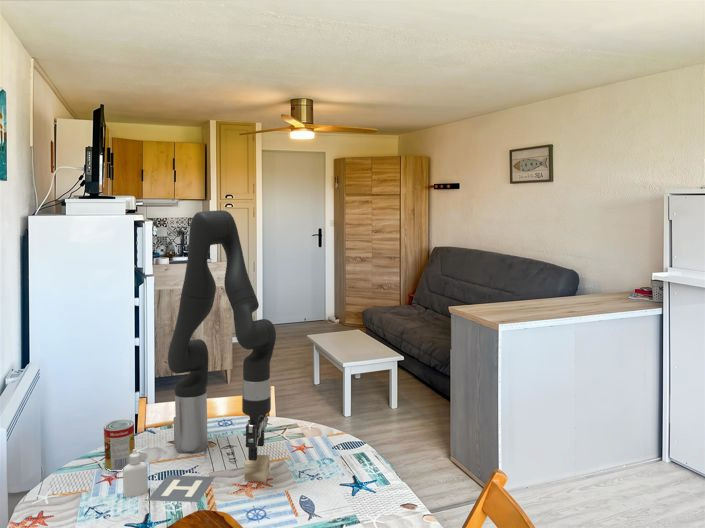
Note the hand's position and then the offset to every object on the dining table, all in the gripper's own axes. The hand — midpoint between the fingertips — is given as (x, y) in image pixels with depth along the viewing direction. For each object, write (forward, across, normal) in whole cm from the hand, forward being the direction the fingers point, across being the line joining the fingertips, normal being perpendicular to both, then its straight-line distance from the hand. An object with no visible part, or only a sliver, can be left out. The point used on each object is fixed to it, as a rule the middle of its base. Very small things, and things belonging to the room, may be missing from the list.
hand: (256, 452), depth 147 cm
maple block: (+7, -1, 0) cm, 7 cm away
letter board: (+7, -8, +18) cm, 21 cm away
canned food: (+8, +5, +40) cm, 41 cm away
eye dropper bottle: (+8, -11, +28) cm, 31 cm away
